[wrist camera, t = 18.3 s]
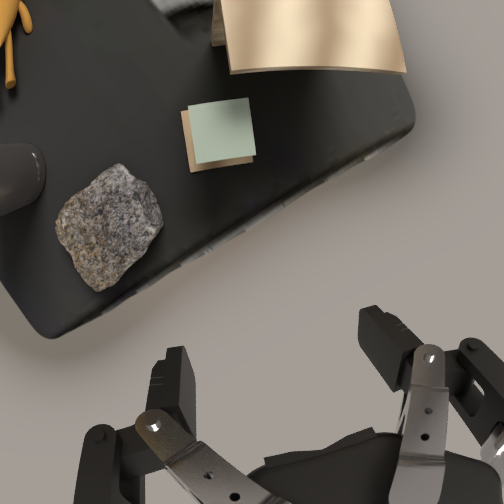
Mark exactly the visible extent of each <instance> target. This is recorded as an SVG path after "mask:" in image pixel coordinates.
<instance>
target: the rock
mask: <svg viewBox="0 0 504 504" xmlns="http://www.w3.org/2000/svg"><path fill="white" fill-rule="evenodd" d="M156 202H157V200H156V198H155V196H154V194H153V193H152V191H151V189H150V188H149V187H148V185H147V183H146V182H144V181H141V180H139V179H137V178H135V177H134V176H133V175H132V174H130V172H129V170H127V169H126V168H125V167H124V166H123V165H120V164H119V163H118V164H116V165H114V166H113V167H112V168H108V169H107V170H106V171H104V172H102V173H101V174H100V175H99V176H98V177H97V178H96V179H95V180H94V181H92V182H91V184H90V186H88V187H87V188H85V189H84V190H81V191H78V192H77V193H75V195H73V196H72V197H71V198H70V199H69V200H68V201H67V202H66V203H65V205H64V207H63V208H62V209H61V210H60V212H59V214H58V218H57V220H56V221H55V222H56V228H55V231H56V233H57V236H58V239H59V241H60V243H61V244H62V245H64V247H65V248H66V251H68V252H69V253H70V255H71V256H72V260H73V264H74V267H75V268H76V269H77V271H78V272H79V274H80V275H81V276H82V278H83V279H84V280H85V282H86V283H87V284H88V285H89V286H90V287H91V288H92V289H93V290H95V291H102V290H104V289H106V288H107V287H110V286H112V285H114V284H115V283H116V282H117V281H118V280H119V279H120V278H121V276H122V275H123V273H124V272H125V271H126V270H127V269H128V268H129V267H130V266H131V265H132V264H134V263H136V261H138V260H139V258H141V257H142V256H143V255H144V254H145V253H146V251H147V248H148V246H149V245H150V243H151V241H152V240H153V239H154V238H155V237H156V235H157V234H158V233H159V231H160V229H161V228H162V227H163V223H164V222H163V221H162V214H161V212H160V208H159V206H158V205H157V204H156Z"/></svg>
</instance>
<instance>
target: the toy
mask: <svg viewBox="0 0 504 504" xmlns="http://www.w3.org/2000/svg"><path fill="white" fill-rule="evenodd" d="M18 11H19V13H20V16H21V20H22V24H23V28H24V30H25V32H27V33H31V32H32V20H31V17H30V14H29V12H28V9H27V8H26V6H25V5H24V3H23V2H22V1H21V0H0V47H1V46H2V44H3V43H4V41H5V54H6V81H5V84H6V88H7V89H11V88H13V87H14V86H15V85H16V78H15V74H14V64H13V47H12V35H11V28H12V26H13V24H14V21H15V18H16V16H17V12H18Z"/></svg>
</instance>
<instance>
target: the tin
mask: <svg viewBox="0 0 504 504" xmlns="http://www.w3.org/2000/svg"><path fill="white" fill-rule="evenodd" d="M188 110H189V117H190V124H191V131H192V138H193V145H194V152H195V158H196V164H199V163H205V162H211V161H217V160H224V159H230V158H237V157H244V156H251V155H256V150H255V142H254V135H253V128H252V120H251V113H250V106H249V99H248V98H241V99H232V100H224V101H217V102H210V103H204V104H198V105H192V106H188Z"/></svg>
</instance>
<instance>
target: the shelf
mask: <svg viewBox="0 0 504 504" xmlns="http://www.w3.org/2000/svg"><path fill="white" fill-rule="evenodd" d="M211 42H212V47H213V46H221V45H226V50H227V57H228V63H229V70H230V75H231V74H240V73H250V72H262V71H278V70H350V71H366V72H378V73H387V74H396V75H400V74H404V73H406V67H405V62H404V57H403V52H402V48H401V43H400V39H399V35H398V31H397V27H396V23H395V20H394V16H393V13H392V9H391V6H390V3H389V0H214V7H213V21H212V36H211Z"/></svg>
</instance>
